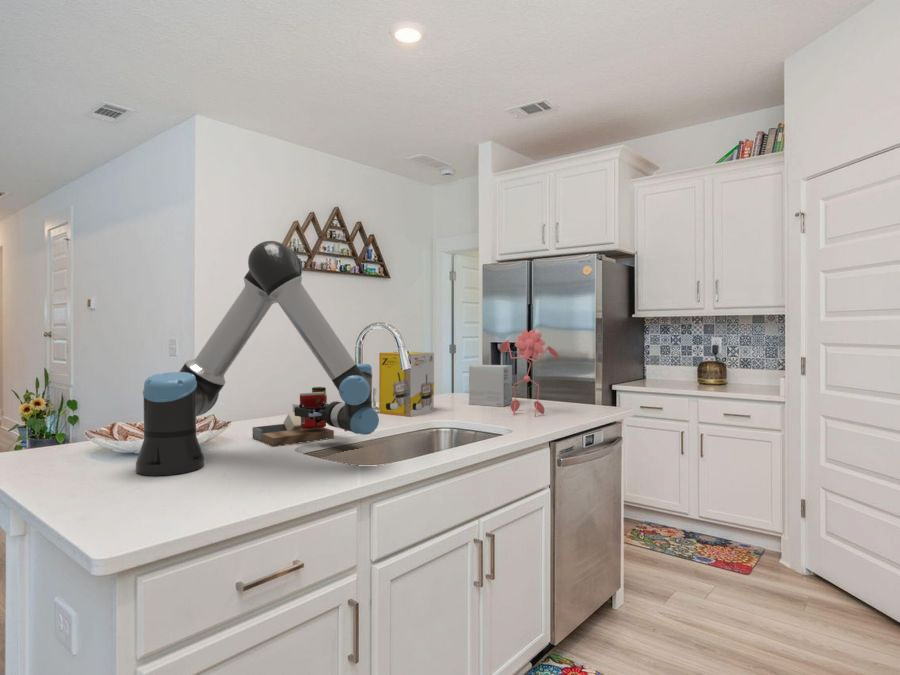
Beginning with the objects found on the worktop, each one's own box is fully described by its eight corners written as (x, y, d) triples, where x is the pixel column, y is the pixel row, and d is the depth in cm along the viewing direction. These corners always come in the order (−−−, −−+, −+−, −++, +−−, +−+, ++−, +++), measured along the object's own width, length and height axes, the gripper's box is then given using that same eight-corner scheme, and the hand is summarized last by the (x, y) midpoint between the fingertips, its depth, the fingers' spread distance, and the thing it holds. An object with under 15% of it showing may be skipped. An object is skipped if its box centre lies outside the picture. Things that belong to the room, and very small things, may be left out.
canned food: (320, 428, 174) (318, 392, 174) (296, 429, 175) (295, 394, 176) (330, 425, 181) (328, 391, 182) (307, 426, 183) (305, 392, 183)
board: (273, 446, 165) (273, 438, 165) (261, 441, 172) (261, 433, 172) (333, 438, 178) (333, 430, 178) (320, 434, 185) (320, 426, 185)
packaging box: (411, 416, 222) (411, 353, 222) (379, 413, 231) (379, 352, 230) (433, 411, 236) (434, 352, 235) (402, 408, 244) (403, 351, 244)
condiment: (330, 417, 220) (330, 386, 220) (321, 420, 212) (321, 389, 212) (313, 416, 222) (313, 386, 221) (303, 420, 213) (303, 388, 213)
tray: (261, 441, 172) (261, 430, 172) (252, 438, 178) (252, 427, 178) (320, 434, 185) (320, 423, 185) (310, 430, 191) (310, 420, 191)
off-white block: (294, 426, 179) (288, 413, 181) (289, 434, 181) (283, 422, 184) (306, 424, 182) (300, 412, 185) (301, 432, 185) (295, 420, 187)
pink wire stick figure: (555, 418, 219) (556, 329, 220) (493, 413, 231) (494, 329, 231) (565, 414, 233) (566, 330, 233) (506, 410, 245) (507, 329, 245)
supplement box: (512, 403, 263) (513, 365, 263) (503, 407, 251) (504, 366, 251) (478, 401, 270) (478, 363, 270) (468, 404, 258) (468, 365, 258)
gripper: (308, 432, 158) (275, 421, 176) (370, 424, 171) (334, 415, 189) (308, 405, 158) (275, 397, 175) (370, 399, 171) (334, 392, 189)
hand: (305, 406), depth 182 cm, fingers closed on canned food, 8 cm apart
